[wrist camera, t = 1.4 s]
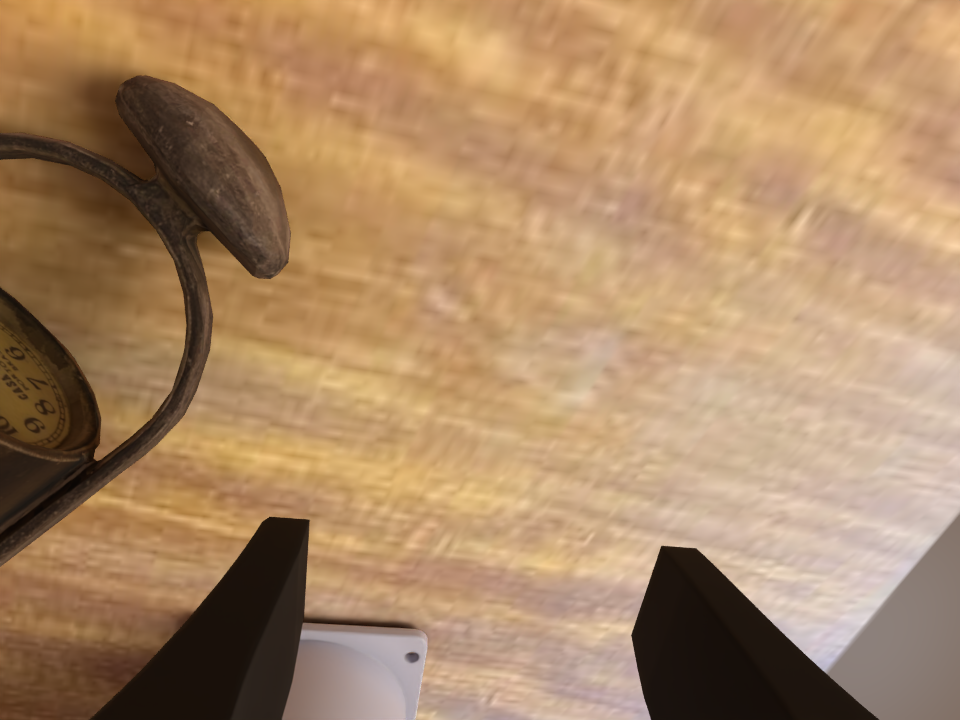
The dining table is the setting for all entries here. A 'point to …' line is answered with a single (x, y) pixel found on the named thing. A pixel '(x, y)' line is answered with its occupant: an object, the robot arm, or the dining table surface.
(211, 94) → the dining table surface
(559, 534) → the dining table surface
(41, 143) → the mechanical counter
